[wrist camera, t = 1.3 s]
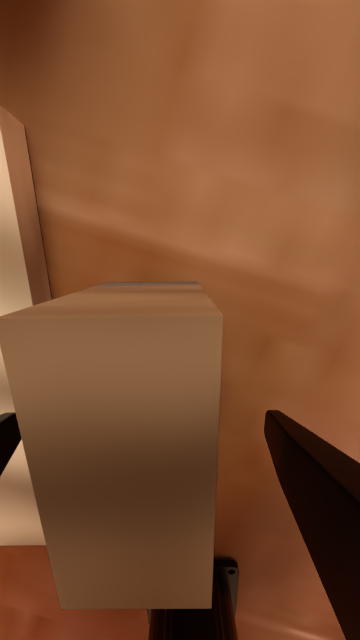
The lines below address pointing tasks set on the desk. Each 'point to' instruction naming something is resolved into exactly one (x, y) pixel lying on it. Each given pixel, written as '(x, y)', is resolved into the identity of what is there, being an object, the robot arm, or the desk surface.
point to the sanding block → (122, 439)
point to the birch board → (12, 295)
